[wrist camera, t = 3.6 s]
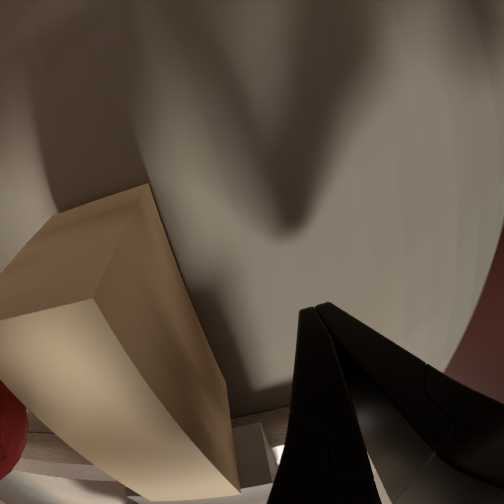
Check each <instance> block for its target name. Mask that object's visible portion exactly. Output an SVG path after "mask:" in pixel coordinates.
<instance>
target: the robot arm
mask: <svg viewBox="0 0 504 504" xmlns="http://www.w3.org/2000/svg"><path fill="white" fill-rule="evenodd" d="M289 411H290V413H289V417H288V426H287V432H286V438H285V443H284V448H283V452H282V455H281V459H280V463H279V467H278V470H277V473H276V476H275V479H274V482H273V485H272V488H271V491H270V494H269V497H268V500H267V503H266V504H382V503H381V500H380V497H379V494H378V491H377V488H376V484H375V481H374V476H373V473H372V469H371V465H370V461H369V458H368V454H369V456H370V458H371V460H372V462H373V465H374V467H375V469H376V471H377V473H378V475H379V477H380V479H381V482H382V483H383V486H384V488H385V490H386V492H387V494H388V496H389V498H390V501H391V503H393V504H504V404H503V403H501V402H499V401H497V400H495V399H493V398H490V397H488V396H486V395H484V394H482V393H480V392H478V391H475V390H473V389H471V388H469V387H467V386H465V385H463V384H461V383H460V382H458V381H455V380H454V379H452V378H450V377H449V376H447V375H445V374H444V373H442V372H440V371H438V370H437V369H435V368H434V367H432V366H431V365H429V364H426V363H425V362H424V361H422V360H421V359H419V358H418V357H416V356H414V355H413V354H411V353H410V352H408V351H407V350H405V349H403V348H402V347H400V346H399V345H397V344H395V343H394V342H392V341H391V340H389V339H388V338H386V337H384V336H383V335H381V334H380V333H378V332H376V331H375V330H373V329H372V328H370V327H368V326H367V325H365V324H364V323H362V322H361V321H359V320H357V319H356V318H354V317H353V316H351V315H349V314H348V313H346V312H345V311H343V310H342V309H340V308H338V307H337V306H335V305H334V304H332V303H330V302H326V303H323V304H319V305H316V306H315V308H314V307H308V308H305V309H301V310H300V311H299V318H298V330H297V342H296V353H295V363H294V374H293V383H292V393H291V402H290V410H289ZM367 452H368V454H367Z"/></svg>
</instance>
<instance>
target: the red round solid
mask: <svg viewBox="0 0 504 504" xmlns="http://www.w3.org/2000/svg"><path fill="white" fill-rule="evenodd" d="M27 431H28V418H27V413H26V407H25V405H24V404H23V403H22V402H21V401H20V400H19V399H18V398H17V397H16V396H15V395H14V394H13V393H12V392H11V391H10V390H9V389H8V388H7V386H6V385H5V384H4V383H3V382H2V381H1V380H0V480H1V479H2V478H4V477H5V476H6V475H7V474H9V473H10V472H11V471H12V469H13V468H14V467H15V465H16V464H17V463H18V461H19V460H20V457H21V455H22V452H23V450H24V448H25V445H26V441H27Z"/></svg>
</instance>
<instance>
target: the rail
mask: <svg viewBox="0 0 504 504" xmlns="http://www.w3.org/2000/svg"><path fill="white" fill-rule="evenodd" d="M289 410H290V406H287V407H283V408H279V409H275V410H271V411H266V412H262V413H258V414H253V415H248V416H244V417H239V418H234V419H231V427H232V428H235V427H241V426H246V425H250V424H255V423H261V426H262V428H263V431H264V433H265V436H266V438H267V440H268V443H269V445H270V447H271V450H272V452H273V454H274V457H275V459H276V461H277V464H278V465H279V463H280V459H281V455H282V452H283V448H284V443H285V438H286V432H287V426H288V417H289V413H290V411H289ZM13 470H18V471H23V472H28V473H34V474H40V475H47V476H54V477H62V478H71V479H81V480H95V481H117V480H116V479H114V478H113V477H111V476H110V475H108V474H107V473H105V472H104V471H102V470H101V469H99V468H98V467H97V466H95V465H94V464H93V463H91V462H90V461H88V460H87V459H86V458H84V457H83V456H82V455H81V454H79V453H78V452H77V451H75V450H74V449H73V448H72V447H70V446H69V445H68V444H67V443H65V442H64V441H63V440H62V439H61V438H59V437H58V436H57V435H56V434H49V433H31V432H27V441H26V445H25V448H24V450H23V452H22V455H21V457H20V460H19V461H18V463H17V464H16V465H15V467H14V468H13Z"/></svg>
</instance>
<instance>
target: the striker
mask: <svg viewBox="0 0 504 504" xmlns="http://www.w3.org/2000/svg"><path fill="white" fill-rule="evenodd" d="M0 380H1V381H2V382H3V383H4V384H5V385H6V386H7V388H8V389H9V390H10V391H11V392H12V393H13V394H14V395H15V396H16V397H17V398H18V399H19V400H20V401H21V402H22V403H23V404H24V405H25V406H26V407H27V408H28V409H29V410H30V411H31V412H32V413H33V414H34V415H35V416H36V417H37V418H38V419H39V420H40V421H41V422H42V423H44V424H45V425H46V426H47V427H48V428H49V429H50V430H51V431H53V432H54V433H55V434H56V435H57V436H58V437H59V438H61V439H62V440H63V441H64V442H65V443H67V444H68V445H69V446H70V447H72V448H73V449H74V450H75V451H77V452H78V453H79V454H81V455H82V456H83V457H84V458H86V459H87V460H88V461H90V462H91V463H93V464H94V465H95V466H97V467H98V468H99V469H101V470H102V471H104V472H105V473H107V474H108V475H110V476H111V477H113V478H114V479H116V480H117V481H119V482H120V483H122V484H123V485H125V486H126V497H128V498H130V499H132V500H134V501H135V502H137V503H139V504H266V503H267V500H268V497H269V494H270V491H271V488H272V485H273V482H274V479H275V476H276V473H277V470H278V467H279V466H278V464H277V461H276V459H275V457H274V454H273V452H272V450H271V447H270V445H269V443H268V440H267V438H266V436H265V433H264V431H263V428H262V426H261V423H255V424H250V425H246V426H241V427H235V428H232V427H231V419H230V411H229V403H228V395H227V387H226V382H225V380H224V377H223V375H222V373H221V371H220V369H219V366H218V364H217V362H216V360H215V357H214V355H213V353H212V350H211V348H210V346H209V344H208V341H207V339H206V336H205V334H204V332H203V329H202V327H201V325H200V322H199V320H198V317H197V315H196V312H195V310H194V308H193V305H192V303H191V300H190V298H189V295H188V292H187V290H186V287H185V285H184V282H183V280H182V277H181V274H180V272H179V269H178V267H177V264H176V261H175V259H174V256H173V253H172V250H171V248H170V245H169V242H168V239H167V237H166V234H165V231H164V228H163V225H162V222H161V219H160V217H159V214H158V211H157V208H156V205H155V202H154V199H153V196H152V193H151V190H150V187H149V184H148V183H147V184H144V185H141V186H138V187H134V188H131V189H128V190H125V191H122V192H119V193H116V194H113V195H110V196H107V197H104V198H101V199H98V200H95V201H92V202H89V203H87V204H84V205H81V206H78V207H76V208H73V209H70V210H67V211H65V212H62V213H59V214H57V215H54V216H52V217H51V218H50V219H49V220H48V221H47V222H46V223H45V224H44V225H43V226H42V228H41V229H40V230H39V231H38V232H37V233H36V234H35V235H34V236H33V237H32V238H31V239H30V241H29V242H28V243H27V244H26V245H25V246H24V247H23V248H22V250H21V251H20V252H19V253H18V254H17V255H16V257H15V258H14V259H13V260H12V261H11V263H10V264H9V265H8V266H7V267H6V269H5V270H4V271H3V272H2V274H1V275H0Z"/></svg>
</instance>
